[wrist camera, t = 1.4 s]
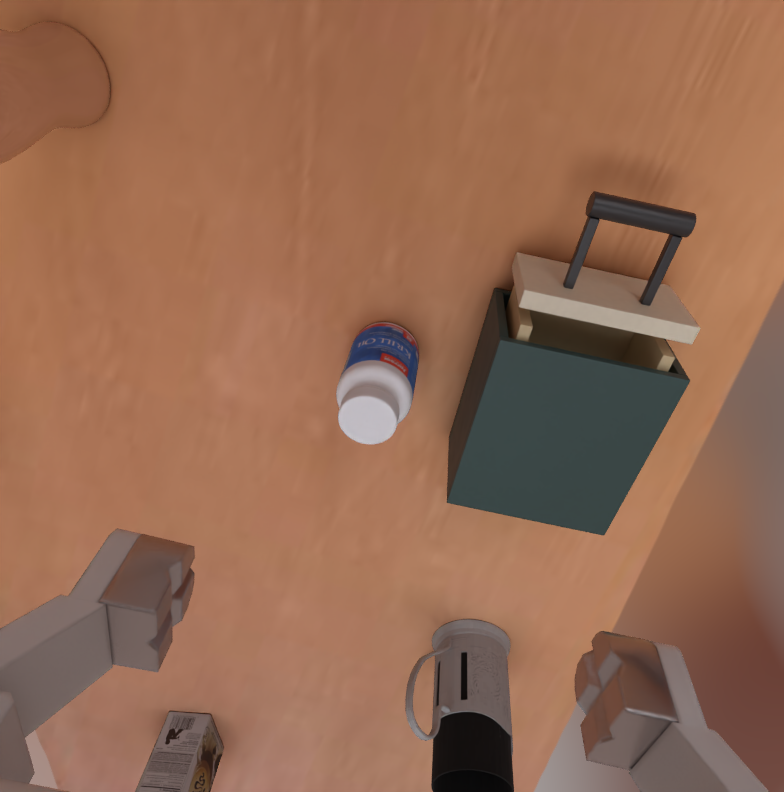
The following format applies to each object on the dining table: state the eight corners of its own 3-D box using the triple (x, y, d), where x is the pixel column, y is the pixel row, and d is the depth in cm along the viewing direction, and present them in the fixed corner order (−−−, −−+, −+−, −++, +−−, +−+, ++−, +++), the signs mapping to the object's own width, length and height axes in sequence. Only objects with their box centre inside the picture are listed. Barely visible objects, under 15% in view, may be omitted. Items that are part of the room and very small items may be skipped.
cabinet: (494, 287, 44) (500, 339, 37) (655, 322, 44) (690, 380, 37) (448, 437, 52) (446, 502, 45) (585, 465, 52) (604, 535, 45)
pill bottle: (423, 325, 46) (415, 394, 38) (415, 383, 49) (405, 459, 41) (353, 315, 46) (330, 381, 38) (349, 374, 49) (326, 447, 41)
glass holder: (462, 675, 71) (462, 819, 58) (385, 610, 66) (366, 752, 53) (525, 652, 67) (539, 800, 55) (449, 580, 62) (445, 726, 50)
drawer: (543, 164, 38) (557, 191, 33) (710, 201, 39) (751, 234, 33) (467, 405, 49) (468, 456, 44) (598, 433, 49) (615, 487, 44)
